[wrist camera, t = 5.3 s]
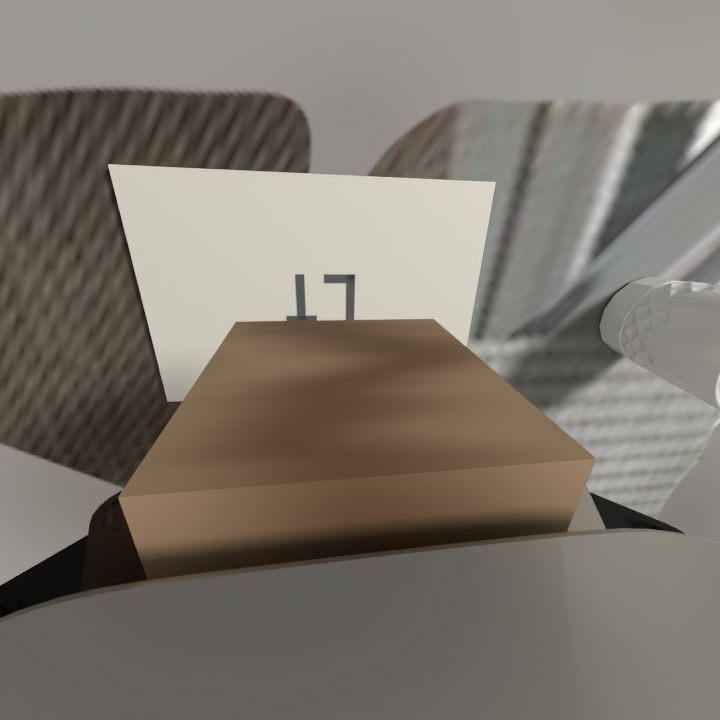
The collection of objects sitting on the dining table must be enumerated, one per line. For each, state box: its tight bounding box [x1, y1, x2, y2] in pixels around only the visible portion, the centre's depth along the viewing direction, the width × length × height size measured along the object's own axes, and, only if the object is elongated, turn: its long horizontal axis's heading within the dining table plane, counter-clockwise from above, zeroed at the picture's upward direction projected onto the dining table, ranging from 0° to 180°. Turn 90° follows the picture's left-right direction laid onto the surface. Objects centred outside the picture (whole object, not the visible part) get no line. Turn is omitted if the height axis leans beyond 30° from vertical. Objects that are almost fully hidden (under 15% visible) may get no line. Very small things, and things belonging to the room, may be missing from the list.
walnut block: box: [118, 319, 596, 580], centre depth 9 cm, size 6×6×7 cm
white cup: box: [599, 277, 720, 410], centre depth 25 cm, size 8×8×10 cm
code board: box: [108, 164, 496, 402], centre depth 24 cm, size 24×16×1 cm, turn 88°
